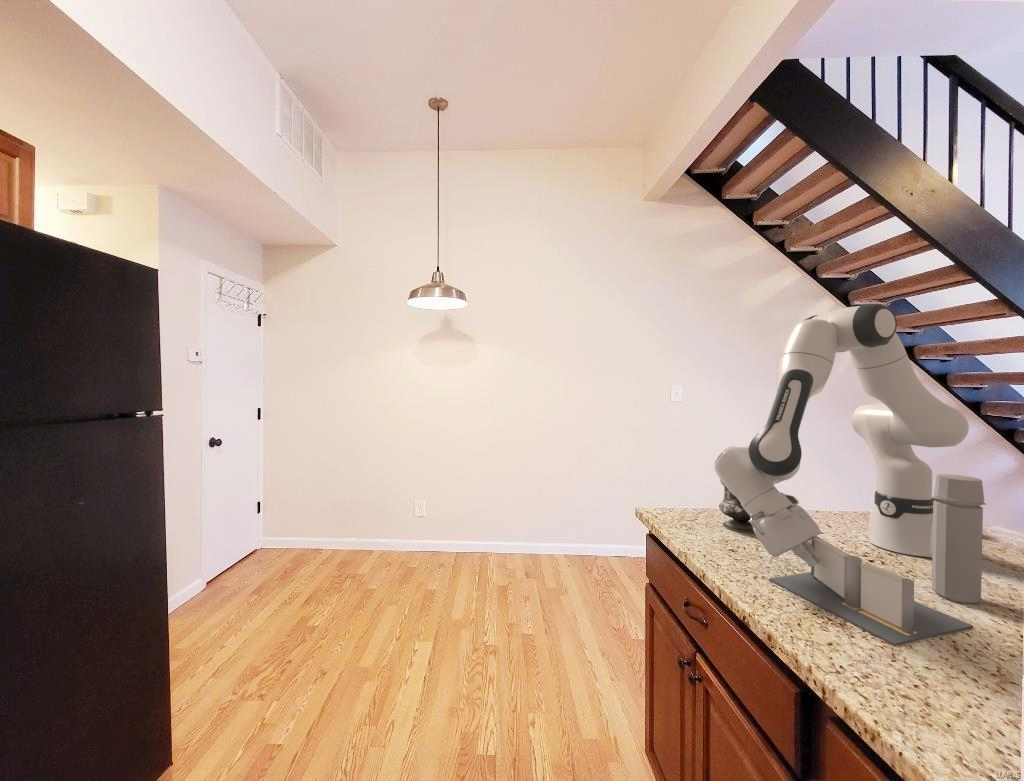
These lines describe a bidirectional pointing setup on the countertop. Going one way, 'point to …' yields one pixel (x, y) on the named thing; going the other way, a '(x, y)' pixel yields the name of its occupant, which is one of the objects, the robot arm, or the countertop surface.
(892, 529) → the robot arm
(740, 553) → the countertop surface
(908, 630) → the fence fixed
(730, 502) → the apothecary jar
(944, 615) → the mat
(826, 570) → the beige rectangular panel
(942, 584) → the water bottle
